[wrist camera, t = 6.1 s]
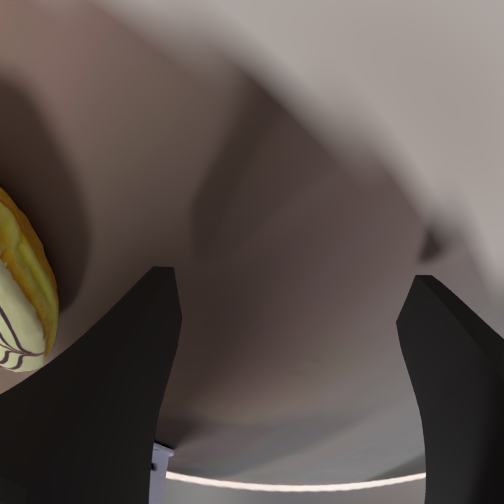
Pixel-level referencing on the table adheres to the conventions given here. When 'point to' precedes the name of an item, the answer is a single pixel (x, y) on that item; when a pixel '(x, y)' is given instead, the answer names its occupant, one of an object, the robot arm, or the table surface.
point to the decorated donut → (24, 293)
